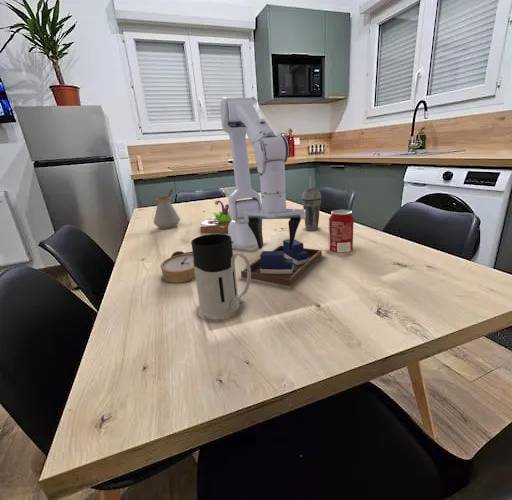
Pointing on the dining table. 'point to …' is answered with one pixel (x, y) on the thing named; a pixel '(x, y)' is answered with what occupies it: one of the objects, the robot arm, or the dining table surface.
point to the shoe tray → (282, 278)
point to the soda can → (341, 231)
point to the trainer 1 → (275, 263)
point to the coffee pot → (166, 213)
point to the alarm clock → (178, 267)
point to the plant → (217, 221)
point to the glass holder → (217, 275)
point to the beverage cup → (311, 207)
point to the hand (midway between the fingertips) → (276, 247)
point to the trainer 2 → (295, 252)
